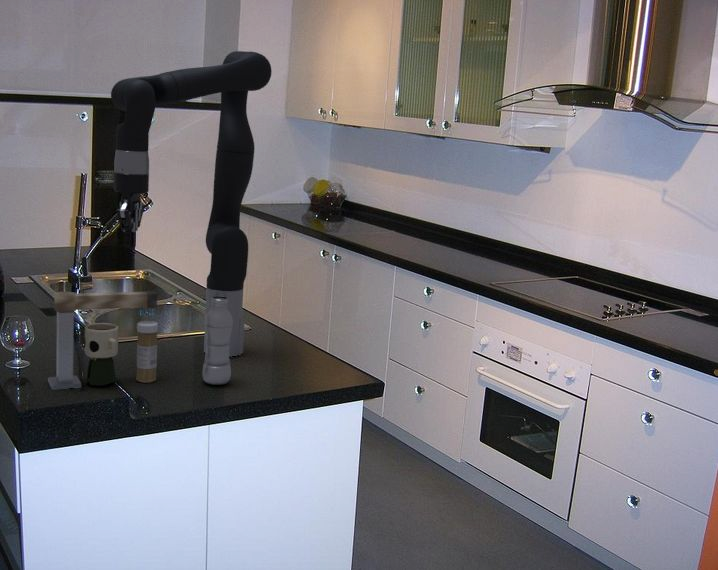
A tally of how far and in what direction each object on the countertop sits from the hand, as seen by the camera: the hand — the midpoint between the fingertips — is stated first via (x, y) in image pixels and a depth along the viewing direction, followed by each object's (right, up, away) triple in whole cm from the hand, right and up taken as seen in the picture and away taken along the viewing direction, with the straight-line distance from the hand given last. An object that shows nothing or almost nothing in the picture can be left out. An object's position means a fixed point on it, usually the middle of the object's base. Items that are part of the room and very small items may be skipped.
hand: (129, 247), depth 196 cm
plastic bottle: (+19, -31, +1) cm, 37 cm away
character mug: (-5, -30, -5) cm, 31 cm away
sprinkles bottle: (+4, -30, 0) cm, 30 cm away
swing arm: (-3, -14, -7) cm, 15 cm away
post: (-12, -30, -7) cm, 33 cm away
